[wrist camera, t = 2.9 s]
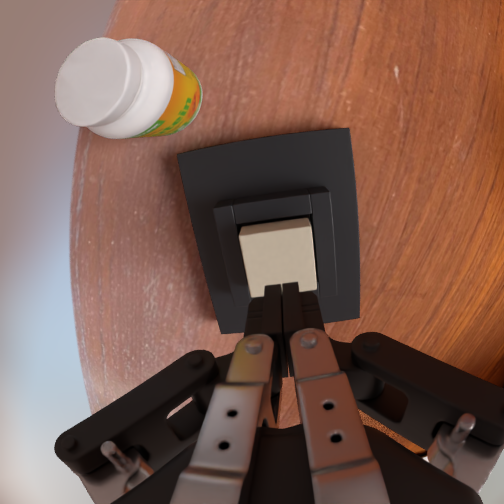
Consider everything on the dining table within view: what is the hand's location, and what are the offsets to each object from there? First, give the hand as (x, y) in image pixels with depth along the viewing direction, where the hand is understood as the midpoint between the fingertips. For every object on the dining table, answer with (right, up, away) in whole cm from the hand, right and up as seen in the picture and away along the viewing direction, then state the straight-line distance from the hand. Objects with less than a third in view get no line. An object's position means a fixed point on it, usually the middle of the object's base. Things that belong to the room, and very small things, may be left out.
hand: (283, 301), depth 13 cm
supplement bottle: (-7, +13, +5) cm, 16 cm away
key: (0, +2, +5) cm, 6 cm away
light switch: (0, +3, +8) cm, 9 cm away
